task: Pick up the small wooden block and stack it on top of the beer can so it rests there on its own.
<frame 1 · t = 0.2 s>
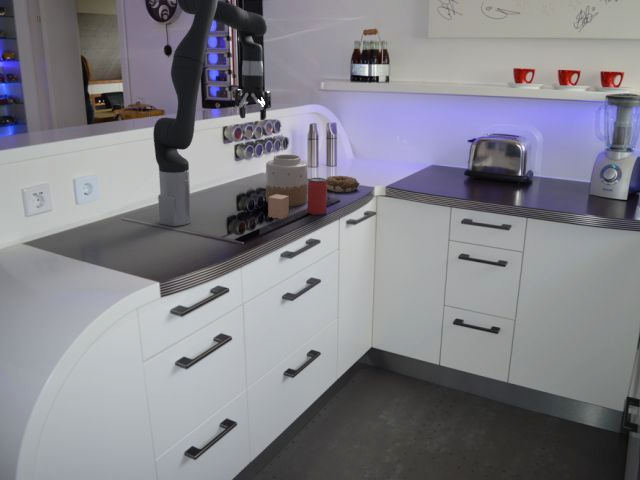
hand: (252, 119, 224), 29 cm above the counter, fingers open, 8 cm apart
block: (278, 216, 205), on the counter
donut: (341, 190, 245), on the counter
vase: (286, 201, 225), on the counter
beer can: (316, 213, 211), on the counter
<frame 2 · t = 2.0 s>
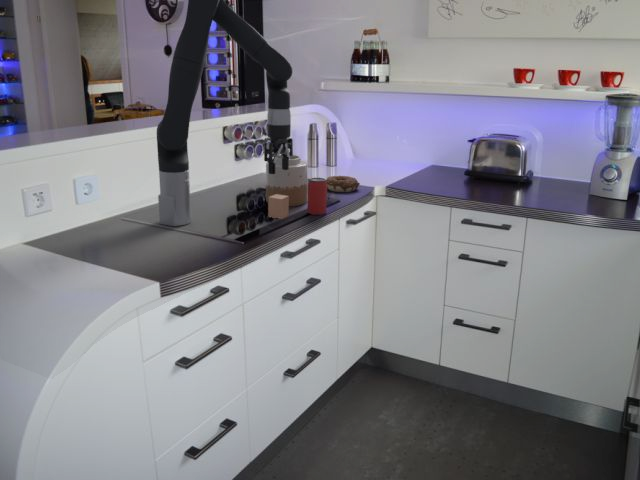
hand: (278, 171, 200), 15 cm above the counter, fingers open, 8 cm apart
nothing on the counter moved.
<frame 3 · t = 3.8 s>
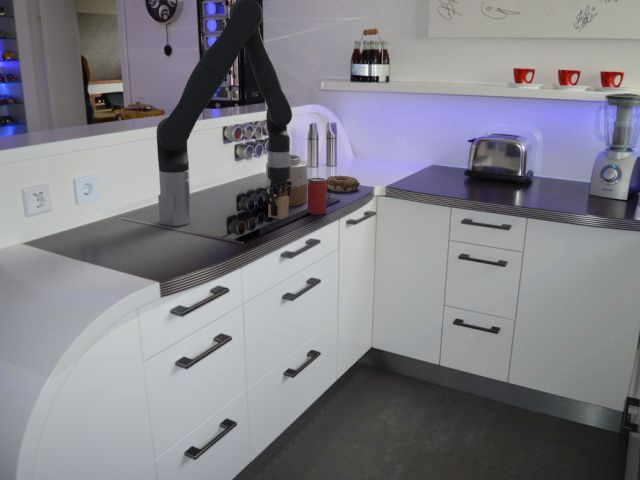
hand: (278, 213, 205), 1 cm above the counter, fingers closed on block, 5 cm apart
block: (278, 216, 205), on the counter, touching gripper
everything else where it was.
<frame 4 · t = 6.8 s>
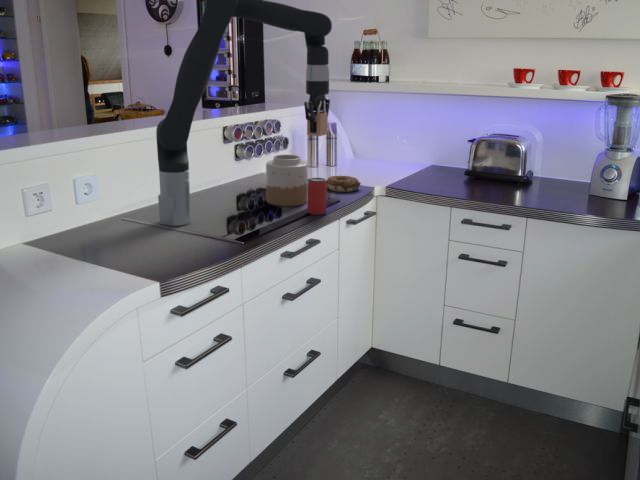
hand: (317, 131, 201), 28 cm above the counter, fingers closed on block, 5 cm apart
block: (317, 134, 201), point 27 cm above the counter, touching gripper
everything else where it was.
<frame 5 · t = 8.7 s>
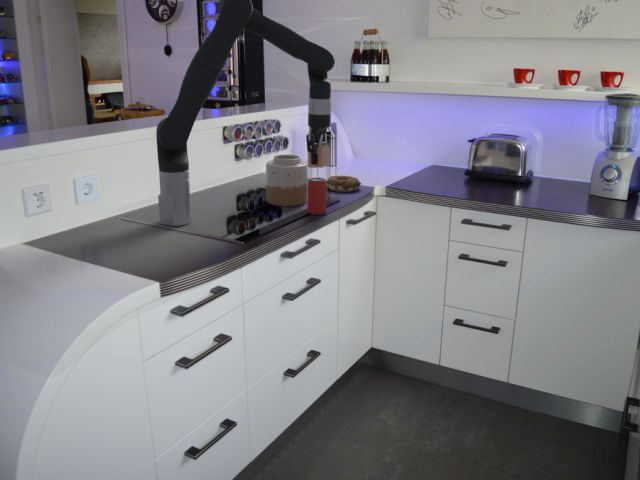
hand: (318, 162, 205), 18 cm above the counter, fingers closed on block, 5 cm apart
block: (318, 165, 205), point 17 cm above the counter, touching gripper
everything else where it was.
when the fingers open (14 cm above the counter, at t = 10.0 s): block stays where it is, resting on beer can.
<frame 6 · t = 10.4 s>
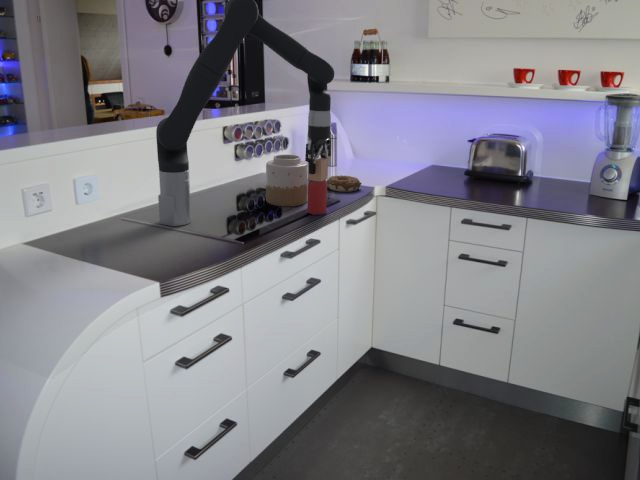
hand: (318, 171, 206), 15 cm above the counter, fingers open, 8 cm apart
block: (317, 179, 207), point 12 cm above the counter, touching beer can
beer can: (316, 213, 211), on the counter, touching block
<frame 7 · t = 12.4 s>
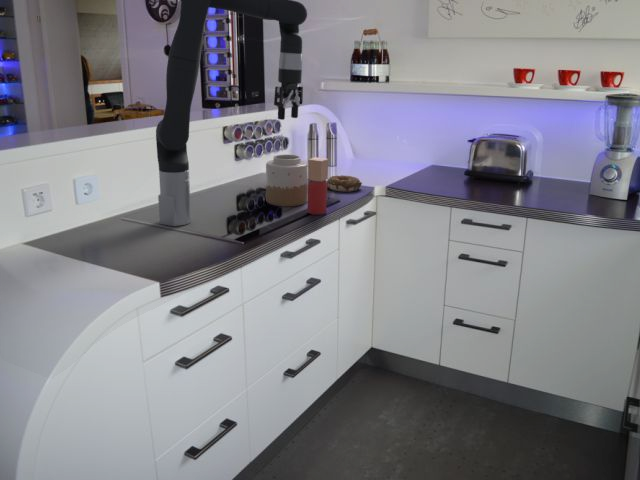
hand: (287, 118, 199), 32 cm above the counter, fingers open, 8 cm apart
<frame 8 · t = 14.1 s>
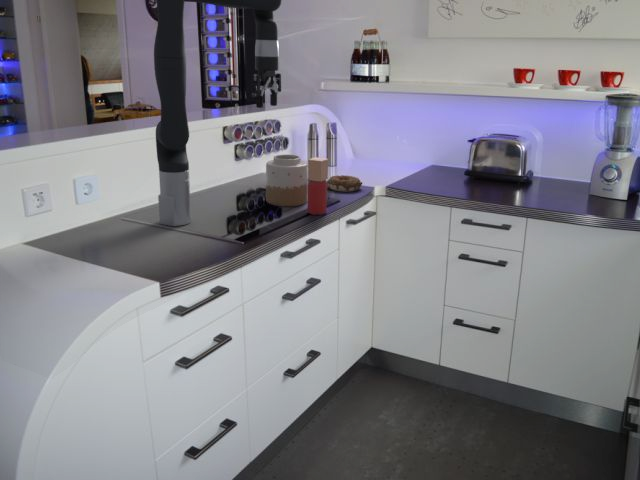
hand: (266, 106, 198), 36 cm above the counter, fingers open, 8 cm apart
at the end: block 0.1 cm from the beer can (horizontally); block point 12.0 cm above the counter; beer can tilted 0° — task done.
